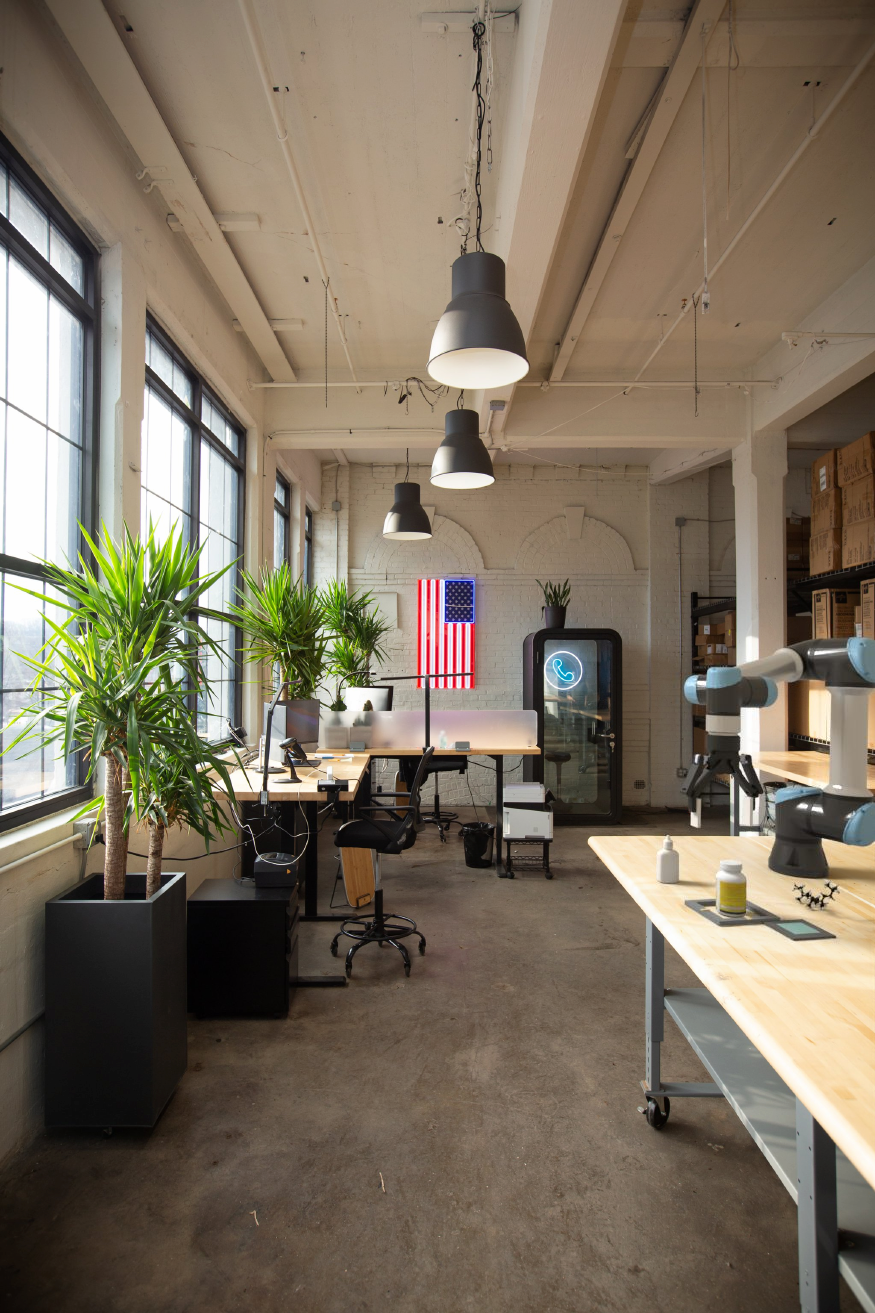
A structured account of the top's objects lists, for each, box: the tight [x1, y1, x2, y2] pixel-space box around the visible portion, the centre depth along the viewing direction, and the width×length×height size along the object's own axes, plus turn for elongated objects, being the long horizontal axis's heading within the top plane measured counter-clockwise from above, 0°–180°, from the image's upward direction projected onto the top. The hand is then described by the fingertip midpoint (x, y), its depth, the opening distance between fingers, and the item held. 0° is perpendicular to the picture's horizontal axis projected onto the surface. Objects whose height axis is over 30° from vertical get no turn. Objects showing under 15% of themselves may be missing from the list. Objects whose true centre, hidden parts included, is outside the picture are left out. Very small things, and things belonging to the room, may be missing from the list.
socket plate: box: [684, 898, 782, 927], centre depth 161 cm, size 15×14×1 cm
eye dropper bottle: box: [656, 834, 680, 884], centre depth 185 cm, size 4×6×12 cm
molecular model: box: [791, 880, 841, 911], centre depth 166 cm, size 6×15×8 cm, turn 4°
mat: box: [761, 918, 837, 942], centre depth 151 cm, size 10×10×1 cm
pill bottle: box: [715, 859, 747, 918], centre depth 162 cm, size 6×6×12 cm
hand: (721, 825), depth 163 cm, fingers open, 13 cm apart
